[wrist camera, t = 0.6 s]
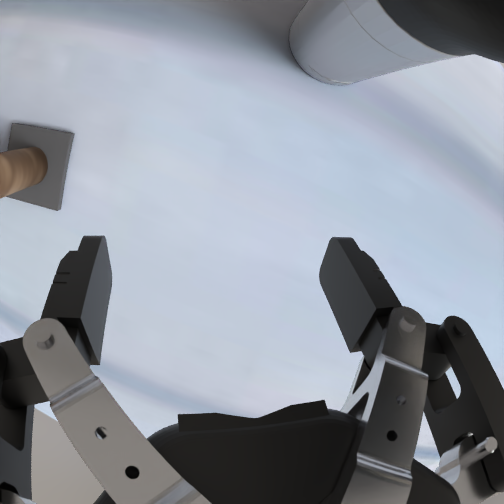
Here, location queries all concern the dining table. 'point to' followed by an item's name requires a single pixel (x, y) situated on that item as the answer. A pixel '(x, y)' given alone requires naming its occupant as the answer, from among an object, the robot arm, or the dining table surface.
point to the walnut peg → (21, 169)
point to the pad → (57, 156)
